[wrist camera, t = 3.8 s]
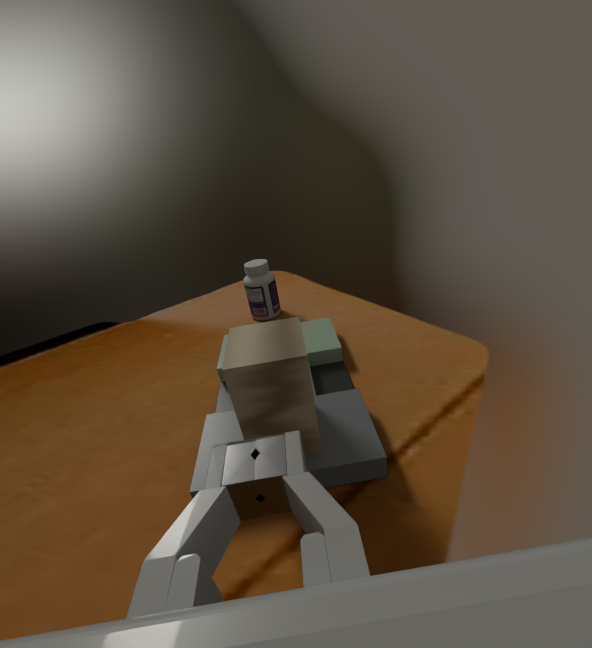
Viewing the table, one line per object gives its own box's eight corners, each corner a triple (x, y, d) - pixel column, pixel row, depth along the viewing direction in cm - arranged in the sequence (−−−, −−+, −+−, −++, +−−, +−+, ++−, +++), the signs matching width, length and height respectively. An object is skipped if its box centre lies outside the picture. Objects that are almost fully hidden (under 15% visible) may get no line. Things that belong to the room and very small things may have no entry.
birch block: (252, 464, 26) (221, 370, 22) (254, 413, 32) (229, 328, 27) (322, 452, 26) (307, 355, 22) (312, 403, 32) (298, 316, 27)
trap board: (198, 510, 26) (189, 492, 25) (228, 349, 48) (224, 335, 47) (386, 476, 26) (386, 457, 25) (330, 331, 48) (329, 317, 47)
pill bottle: (272, 304, 60) (263, 255, 55) (286, 313, 56) (277, 261, 51) (247, 314, 58) (234, 264, 53) (259, 324, 54) (246, 270, 49)
